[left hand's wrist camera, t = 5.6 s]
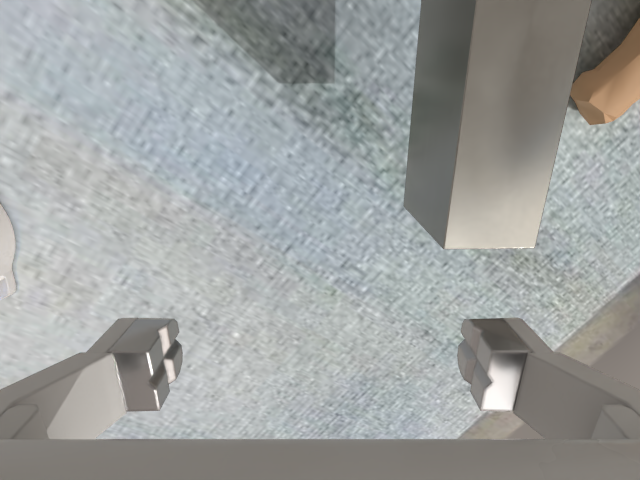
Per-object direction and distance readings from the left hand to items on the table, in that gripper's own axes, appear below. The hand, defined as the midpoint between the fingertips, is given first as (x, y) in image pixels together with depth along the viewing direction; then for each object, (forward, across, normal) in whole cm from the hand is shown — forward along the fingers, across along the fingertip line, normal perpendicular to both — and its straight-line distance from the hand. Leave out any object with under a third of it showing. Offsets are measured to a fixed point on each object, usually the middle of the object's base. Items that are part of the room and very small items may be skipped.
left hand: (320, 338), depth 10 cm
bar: (+20, -10, -10) cm, 25 cm away
